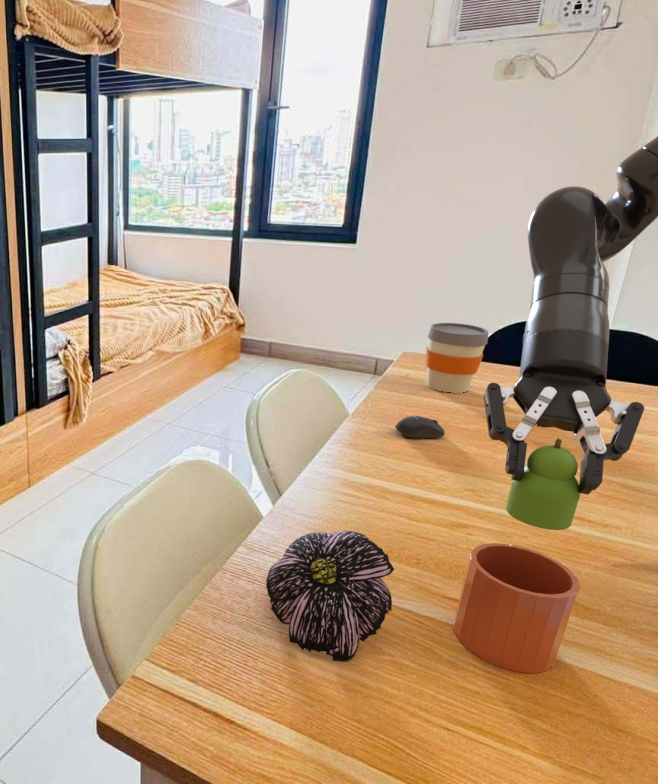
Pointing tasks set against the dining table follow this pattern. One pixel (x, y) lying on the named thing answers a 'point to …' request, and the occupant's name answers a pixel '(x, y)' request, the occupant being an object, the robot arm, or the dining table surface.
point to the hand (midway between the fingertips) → (551, 484)
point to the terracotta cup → (515, 607)
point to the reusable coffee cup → (454, 355)
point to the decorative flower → (331, 591)
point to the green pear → (546, 489)
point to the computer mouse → (419, 428)
